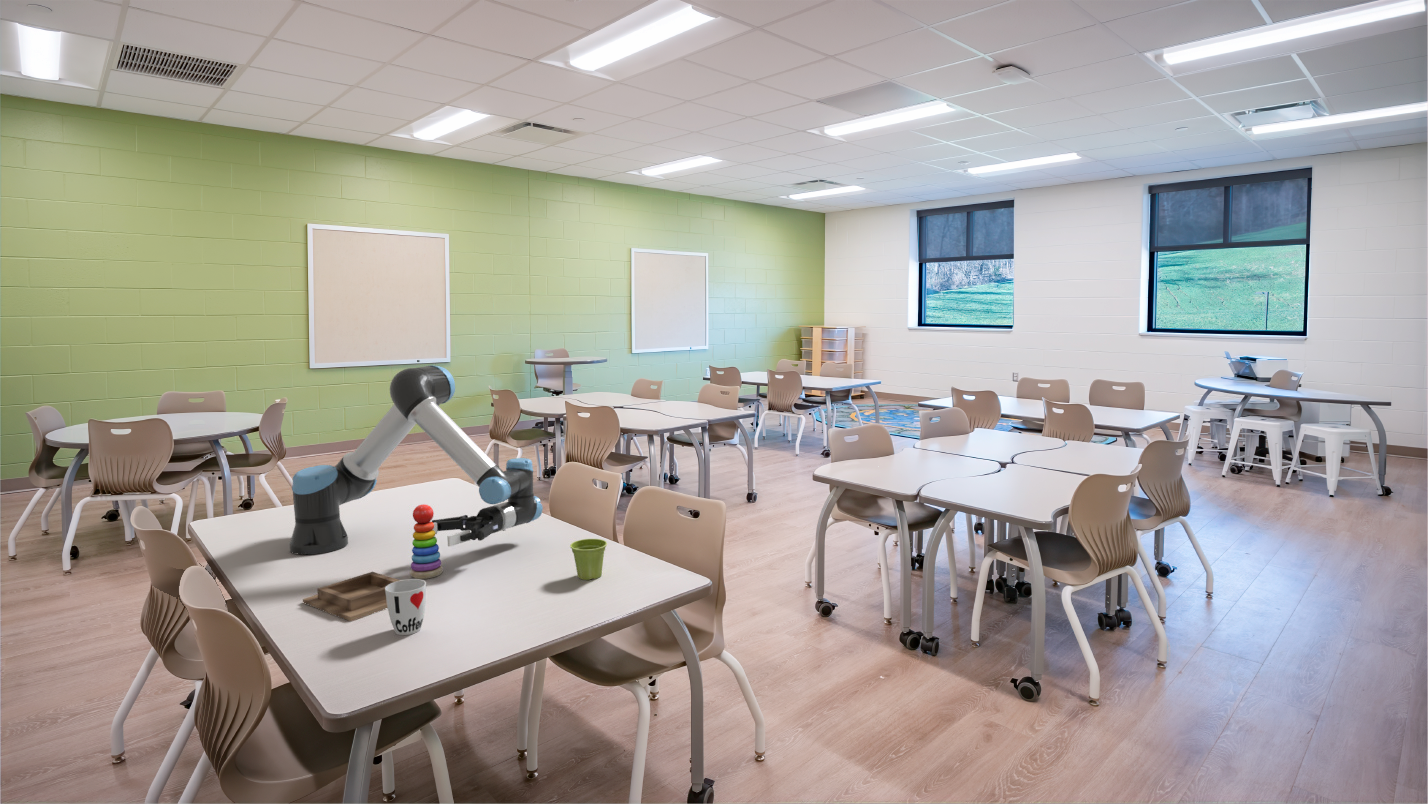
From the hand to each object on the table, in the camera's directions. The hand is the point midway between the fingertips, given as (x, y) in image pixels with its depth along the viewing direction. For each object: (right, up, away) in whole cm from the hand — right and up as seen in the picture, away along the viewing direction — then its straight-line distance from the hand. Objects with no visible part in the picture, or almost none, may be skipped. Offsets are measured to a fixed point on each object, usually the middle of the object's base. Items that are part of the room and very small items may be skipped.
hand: (431, 537), depth 194 cm
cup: (+8, -14, -35) cm, 38 cm away
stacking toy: (-1, -10, 0) cm, 10 cm away
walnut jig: (-10, -12, -17) cm, 23 cm away
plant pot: (+42, -10, -2) cm, 43 cm away
